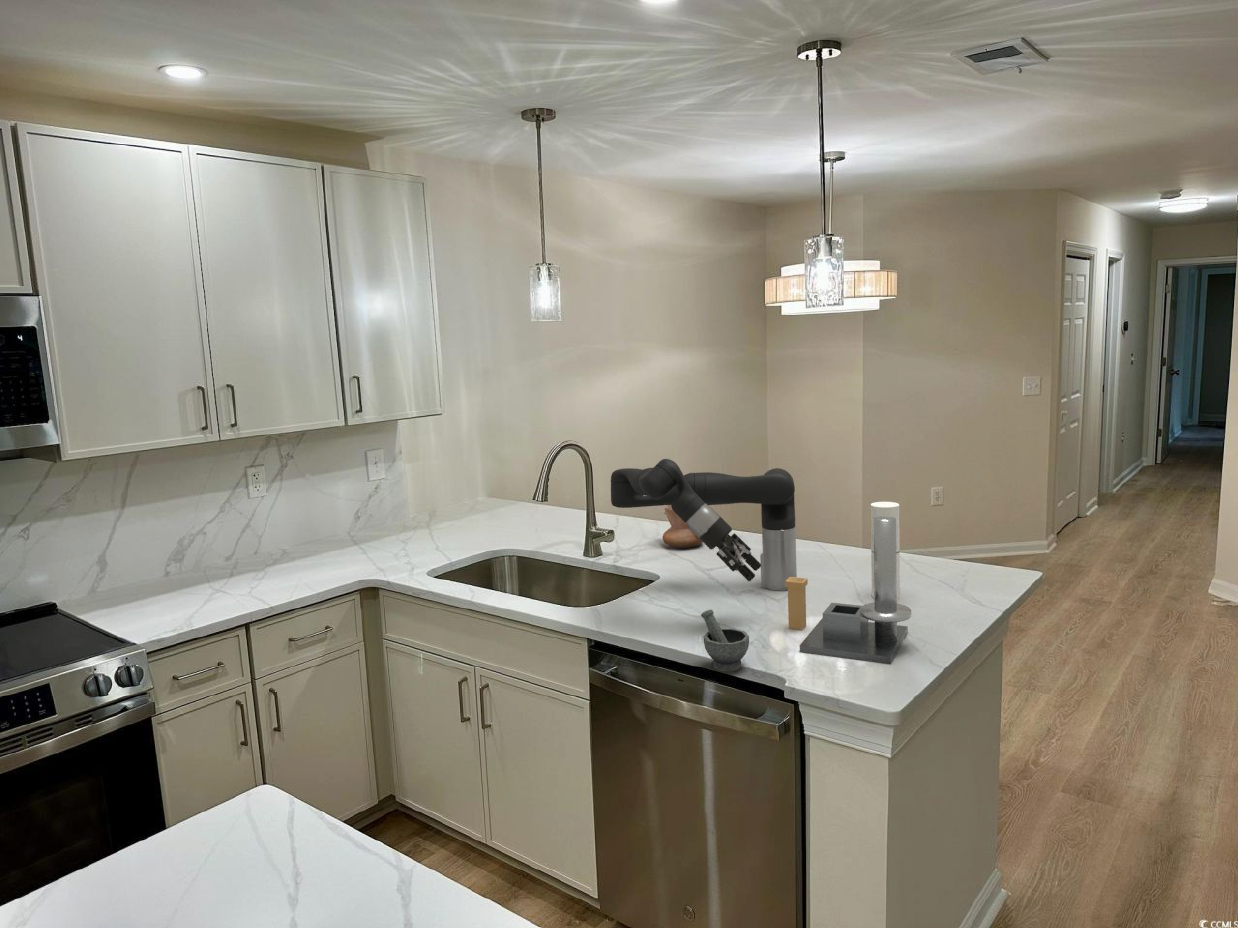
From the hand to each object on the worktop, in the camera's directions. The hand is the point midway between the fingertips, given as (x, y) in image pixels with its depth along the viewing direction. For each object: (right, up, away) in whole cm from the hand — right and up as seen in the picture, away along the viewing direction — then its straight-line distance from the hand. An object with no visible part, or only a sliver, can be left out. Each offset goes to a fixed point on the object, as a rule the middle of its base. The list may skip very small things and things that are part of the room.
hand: (755, 573), depth 209 cm
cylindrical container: (+38, -9, +19) cm, 43 cm away
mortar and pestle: (-10, -18, -21) cm, 29 cm away
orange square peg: (+10, -13, 0) cm, 17 cm away
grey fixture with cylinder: (+22, -14, -12) cm, 29 cm away
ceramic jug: (-11, -1, +82) cm, 83 cm away
